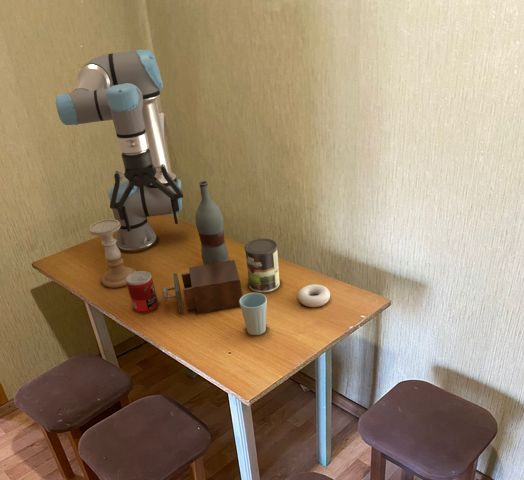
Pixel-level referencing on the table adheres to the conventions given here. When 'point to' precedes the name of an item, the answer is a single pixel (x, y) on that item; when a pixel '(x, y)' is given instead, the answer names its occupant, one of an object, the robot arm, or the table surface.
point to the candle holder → (111, 253)
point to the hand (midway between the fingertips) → (152, 225)
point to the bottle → (210, 229)
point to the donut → (314, 301)
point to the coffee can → (262, 265)
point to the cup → (254, 312)
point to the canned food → (142, 291)
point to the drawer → (187, 292)
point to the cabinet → (215, 286)
